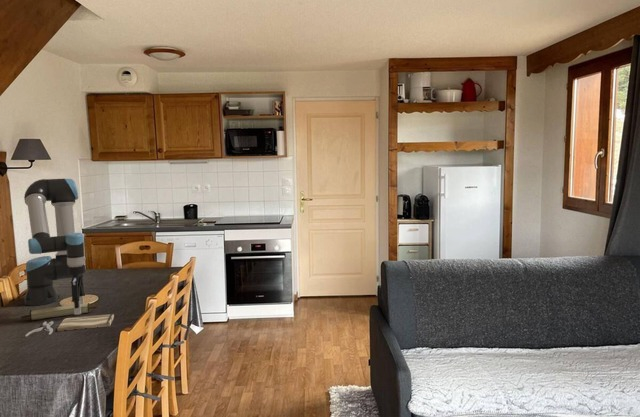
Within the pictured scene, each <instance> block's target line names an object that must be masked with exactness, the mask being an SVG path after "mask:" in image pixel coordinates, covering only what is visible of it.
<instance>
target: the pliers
mask: <svg viewBox="0 0 640 417" xmlns="http://www.w3.org/2000/svg"><path fill="white" fill-rule="evenodd" d="M52 325H54V320H51V321H49V322H47V321H44V322H43V323H42V326H41V327H39V328H35V329H32V330H31V331H29V332H27V333H25V336H24V337H25V338H26V337H28V336H30V335H31V334H33V333H37V332H40V331H42V330H43V329H44V331H46V332H48V334H47V335H51V334H53V332H54V328H52V327H51V326H52Z"/></svg>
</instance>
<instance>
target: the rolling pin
mask: <svg viewBox="0 0 640 417" xmlns="http://www.w3.org/2000/svg"><path fill="white" fill-rule="evenodd" d="M80 306H81V314H90V312H91V310H97V309H99V306H97V305H94V306H90V302H86V303H84V304H80ZM90 309H91V310H90ZM71 315H74V304H70V305H64V306H63V305H61V306H56V307H49V308H46V307H45V308H40V309H33V310H32V309H30V310H29V314H28V315H27V314H26V315H21V317H20V318H21V319H23V320H24V319H26V318H29V320H30V322H32V321H37V320H43V319H51V318H56V317H65V316H71Z"/></svg>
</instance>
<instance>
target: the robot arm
mask: <svg viewBox="0 0 640 417" xmlns="http://www.w3.org/2000/svg"><path fill="white" fill-rule="evenodd" d="M23 198H24V203H25V205H26V206H27V212H28V217H29V226H30V233H31V238H29V239H28V241H27V243H28V246H27V247H28V252H29V254H31V255H41V254H47V253H49V254H50V253H55V257H54V258H52V256H50V255H44V256H39V257H38V256H37V257H34V258H32V259H30V260H27V261H26V263H25V272H26V274H25V275H26V288H27V290H26V292H25V296H24V302H23V303H24V305H25V306H42V305H47V304H51V303H54V302H57V301H58V300H59V299H58V293H57V290H56V289H55V287H54V281H59V280H65V279H71V281H70V283H71V302H72V303H73V305H74V314H73V315H74V316H75V315H82V313H81V306H80V304H85V301H84V299H85V298H84V297H85V296H86V294H85V289H84V275H83V274H85V273H86V265H85V263H86V259H87V257H85V242H84V241H85V239H84V234H83V233H81V232H76V231H75V218H74V208H73V207H74V205H75V204H76V201H77V200H78V199H79V192H78V188H77V185H76V181H75V180H74V179H72V178H49V179H47V178H46V179H45V178H42V179H38V180H36V181H33V182H32V183H31V184H30V185H29V186H28V187H27V189H26V190H25V192H24V197H23ZM46 202H50V204H51V206H53V207H54V215H55V228H56V236H51V233H50V229H49V224H48V223H49V221H48V216H47V215H48V214H47V209H46Z"/></svg>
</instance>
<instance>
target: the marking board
mask: <svg viewBox="0 0 640 417" xmlns="http://www.w3.org/2000/svg"><path fill="white" fill-rule="evenodd" d="M114 318H115V313H109V314H108V313H107V314H99V315H98V314H97V315H87V316H76V317H66V318H64V319H63V320H62V321H61V322H60V324H59V325H58V327H56V328H57V332H65V331H64V330H67V331H75V330H74V329H77V330H85V328H87V329H95V328H97V327H98V328H105V327H111V324H112V323H113V321H114ZM98 328H97V329H98Z"/></svg>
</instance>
